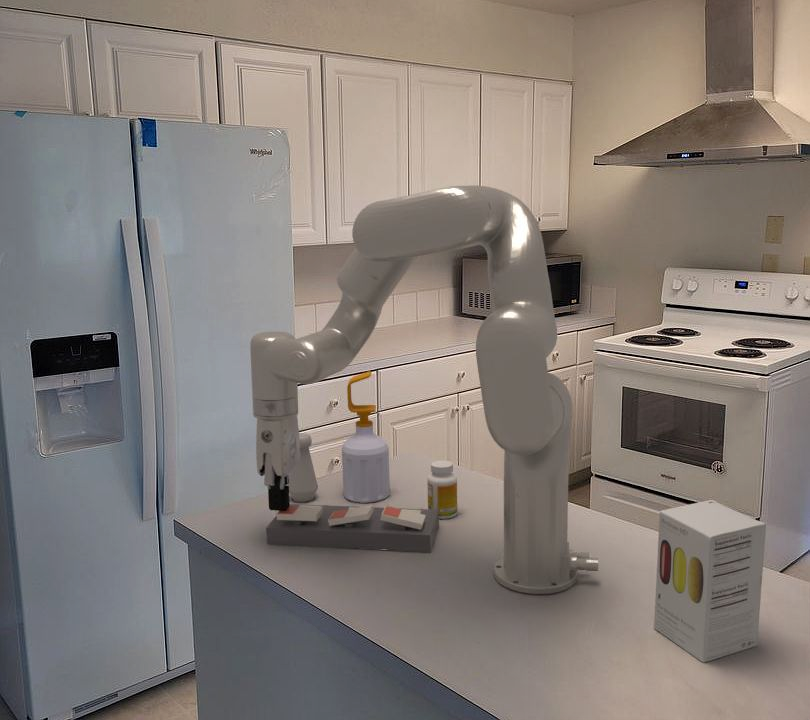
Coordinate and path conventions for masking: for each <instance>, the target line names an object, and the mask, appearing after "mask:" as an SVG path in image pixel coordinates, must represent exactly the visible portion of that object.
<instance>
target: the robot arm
mask: <svg viewBox="0 0 810 720" xmlns="http://www.w3.org/2000/svg"><path fill="white" fill-rule="evenodd" d="M352 225H353V226H352V230H351V231H352V241H353V244H354V246H355V248H354V249H353V251H352V252H351V254H350V255H349V257H348V258H347V260H346V261H345V263H344V264H343V265H342V267H341V268H340V271H338V273H337V276H336V283H337V286H338V288H339V290H340V291H341V292H342V295H341V299H340V302H339V304H338V305H337V308H336V309H335V311H334V312H333V314H332V315H331V318H329V320H328V322H327V323H326V324H325V326H324V327H323V328H322V329H321V330H319V331H317V332H314V333H310V334H307V335H304V336H302V337H297V338H295V336H294V335H293V334H291V333H290V332H287V331H265V332H264V331H263V332H259V333H256V334H254V335H253V336H252V338H251V340H250V342H249V344H250V345H249V346H250V348H249V349H250V368H251V370H250V371H251V373H250V374H251V390H252V391H251V393H252V394H251V395H252V416H253V417H254V418H256V437H255V438H256V442H255V443H256V445H255V446H256V447H255V449H256V450H255V454H256V455H255V456H256V470H257V471H256V472H257V474H258V475H259V476H260V477H263V476H264V480H263V481H264V484H263V485H264V486H265V487H267V493H268V509H269V510H270V511H278V512H279V511H286V510H287V509H288V508H289V506H290V504H291V503H290V493H289V486H288V484H289V474H290V472H291V471H292V470H293V469H294V468H295V466H296V465H297V464H298V463H299V461H300V458H301V455H300V440H299V433H300V429H299V422H298V415H299V394H298V392H299V391H298V390H299V389H298V388H299V387H298V386H299V385H312V384H315V383H318V382H320V381H323V380H325V379H326V378H328V377H330V376H333V375H335V374H338V373H339V372H342V371H343V370H345V369H346V368H347V367H348V366H349V365H350V364H351V363H352V362H353V361H354V359H355V358H356V357H357V355H358V354H359V353H360V351H361V350H362V348H363V347H364V346H365V344H366V343H367V342H368V340H369V339H370V337H371V335H372V333H373V332H374V330H375V327H377V326H376V325H377V324H378V321H379V318H380V316H381V315H382V309H383V306H384V305H385V303H386V302H387V300H388V299H389V297H390V295H391V294H392V293H393V292H394V290H395V288H396V287H397V286H398V284H399V283H400V281H401V280H402V279H403V278H404V276H405V274H406V273H407V271H408V270H409V269H410V267H411V266H412V265H413V263H414V262H415V261H416V259H417V257H423V256H428V255H432V254H437V253H439V254H440V253H444V252H451V251H456V250H463V249H466V248H471V247H472V248H473V247H476V246H482V247H483V248H484V250H485V251H486V253H487V280H488V285H489V289H490V297H491V307H492V312H491V313H490V314H489V315H487V317H486V318H485V319H484V320H483V321H482V323H481V324H480V326H479V329H478V331H477V335H476V339H475V357H476V366H477V371H478V372H477V373H478V379H479V386H480V392H481V398H482V399H481V400H482V405H483V411H484V412H483V413H484V418H485V422H486V426H487V429H488V432H489V435H490V436H491V438H492V439H493V441H494V442H495V443H496V444H497V446H498V447H500V448H501V449H502V450H503V451H504V453H503V455H504V456H503V556H502V557H501V558H499V559H498V560H496V562H495V563H494V565H493V577H494V578H495V580H496V582H498V583H499V585H501V586H503V587H505V588H506V589H510V590H512V591H515V592H519V593H524V594H531V595H546V594H547V595H549V594H554V593H555V594H556V593H559V592H563V591H565V590H568V589H570V588H571V587H572V586H574V584H575V583H576V582H577V579H578V571H586V572H599V557H590V552H583V551H582V552H581V551H580V552H577V551H575V552H574V550H572V549H571V550H570V542H569V541H568V525H569V524H568V519H569V517H568V516H569V513H568V512H569V507H568V506H569V475H570V474H569V472H570V470H569V469H570V467H569V466H570V465H569V463H570V445H571V433H572V424H573V400H572V397H571V394H570V391H569V389H568V387H567V385H566V384H565V382H564V381H562V380H561V379H560V377H558V376H557V375H555V374H553V373H551V372H549V369H548V363H547V362H548V361H547V358H548V357H549V356H550V355H551V353H553V351H554V350H555V347H556V345H557V341H558V326H557V322H556V317H555V311H554V304H553V297H552V296H553V295H552V290H551V282H550V277H549V272H548V264H547V259H546V252H545V251H546V250H545V246H544V240H543V235H542V231H541V228H540V226H539V223H538V221H537V219H536V217H535V215H534V213H533V212H532V211H531V210H530V208H529V207H528V206H527V205H526V204H525V203H524V202H523V201H522V200H521V199H519V198H518V197H516V196H515V195H513V194H511V193H509V192H507V191H504V190H502V189H499V188H496V187H492V186H491V187H490V186H485V185H455V186H454V185H452V186H451V185H450V186H446V187H445V186H444V187H442V188H436V189H432V190H427V191H423V192H418V193H415V194H409V195H404V196H401V197H399V196H398V197H395V198H389V199H384V200H378V201H375V202H371V203H369V204H368V205H366V206H365V207H364V208H362V209H361V210H360V212H359V213H358V214H357V215H356V218H355V220H354V222H353V224H352ZM298 384H299V385H298Z"/></svg>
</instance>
